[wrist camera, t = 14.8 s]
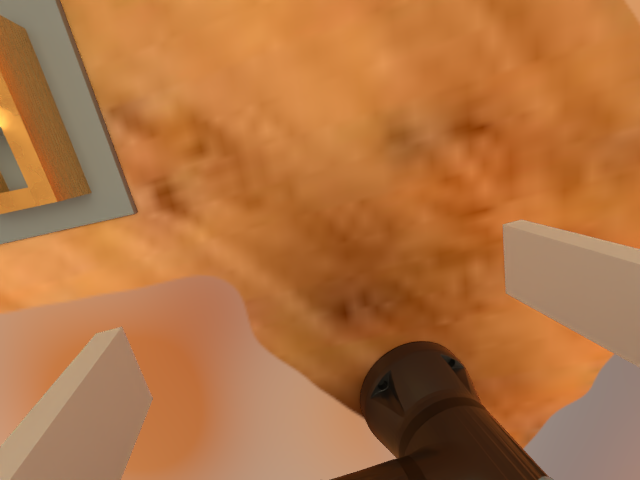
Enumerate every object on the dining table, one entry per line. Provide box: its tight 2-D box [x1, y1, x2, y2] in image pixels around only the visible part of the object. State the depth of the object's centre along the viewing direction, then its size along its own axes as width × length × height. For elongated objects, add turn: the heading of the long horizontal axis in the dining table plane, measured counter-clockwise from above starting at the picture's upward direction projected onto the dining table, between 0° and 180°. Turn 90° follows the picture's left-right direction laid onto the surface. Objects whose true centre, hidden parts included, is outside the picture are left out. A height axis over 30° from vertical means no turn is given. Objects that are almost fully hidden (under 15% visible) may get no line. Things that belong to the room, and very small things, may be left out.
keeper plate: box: [0, 0, 137, 244], centre depth 30 cm, size 20×14×1 cm
